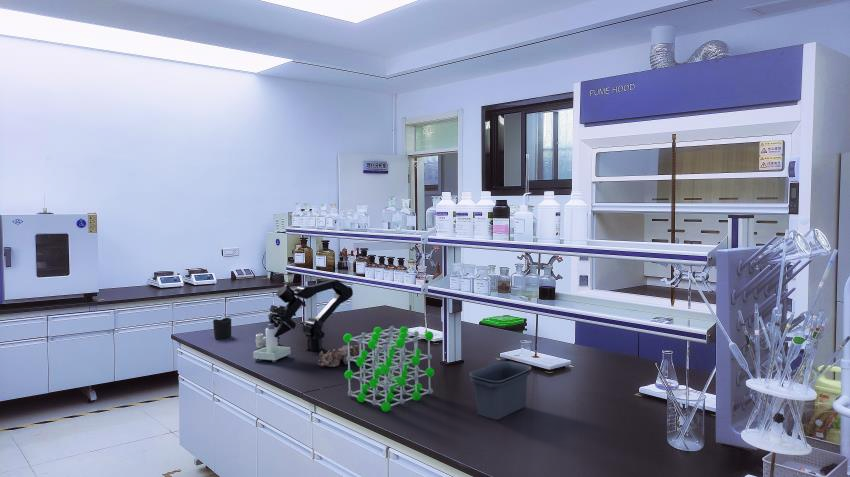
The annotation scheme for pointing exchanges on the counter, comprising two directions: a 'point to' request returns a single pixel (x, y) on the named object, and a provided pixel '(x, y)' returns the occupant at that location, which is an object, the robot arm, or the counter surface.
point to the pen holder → (222, 328)
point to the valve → (261, 340)
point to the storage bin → (500, 388)
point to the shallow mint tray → (271, 354)
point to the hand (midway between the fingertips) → (270, 335)
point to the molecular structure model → (388, 365)
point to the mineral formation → (337, 355)
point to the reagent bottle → (271, 339)
